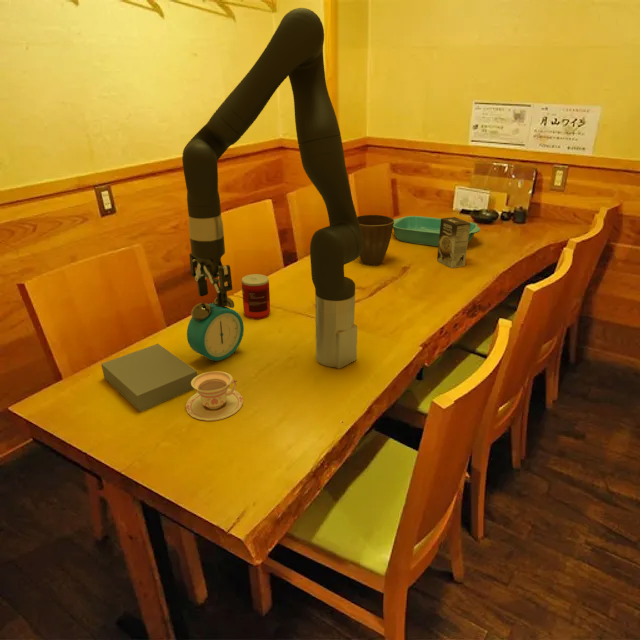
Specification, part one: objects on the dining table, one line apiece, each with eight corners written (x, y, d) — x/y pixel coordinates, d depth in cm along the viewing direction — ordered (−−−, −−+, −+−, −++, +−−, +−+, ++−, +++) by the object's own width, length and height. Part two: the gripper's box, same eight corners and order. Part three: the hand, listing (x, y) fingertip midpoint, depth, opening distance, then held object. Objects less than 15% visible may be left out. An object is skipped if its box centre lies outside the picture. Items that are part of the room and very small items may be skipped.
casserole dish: (382, 241, 216) (382, 224, 213) (401, 228, 234) (402, 212, 231) (470, 254, 200) (472, 236, 197) (483, 239, 218) (486, 223, 215)
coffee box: (436, 261, 193) (440, 218, 186) (450, 258, 195) (454, 216, 188) (451, 268, 185) (456, 224, 178) (465, 266, 188) (471, 222, 181)
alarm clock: (204, 370, 123) (197, 312, 116) (188, 361, 126) (181, 305, 120) (246, 350, 131) (242, 295, 125) (230, 342, 135) (226, 289, 129)
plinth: (198, 386, 116) (197, 371, 114) (140, 412, 108) (137, 395, 106) (160, 357, 128) (157, 343, 126) (104, 378, 119) (101, 363, 118)
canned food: (257, 306, 156) (254, 272, 151) (276, 313, 151) (274, 278, 147) (238, 314, 151) (235, 279, 146) (257, 322, 146) (255, 285, 141)
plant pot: (369, 272, 182) (371, 227, 175) (343, 261, 193) (343, 218, 186) (400, 263, 190) (403, 220, 183) (373, 253, 201) (374, 212, 194)
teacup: (187, 426, 103) (183, 400, 101) (184, 394, 114) (181, 369, 111) (247, 416, 106) (245, 391, 104) (239, 385, 117) (237, 362, 114)
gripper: (238, 238, 114) (243, 305, 121) (204, 224, 123) (210, 287, 130) (209, 245, 109) (215, 314, 116) (176, 230, 118) (183, 295, 126)
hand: (212, 300), depth 123 cm, fingers open, 8 cm apart
